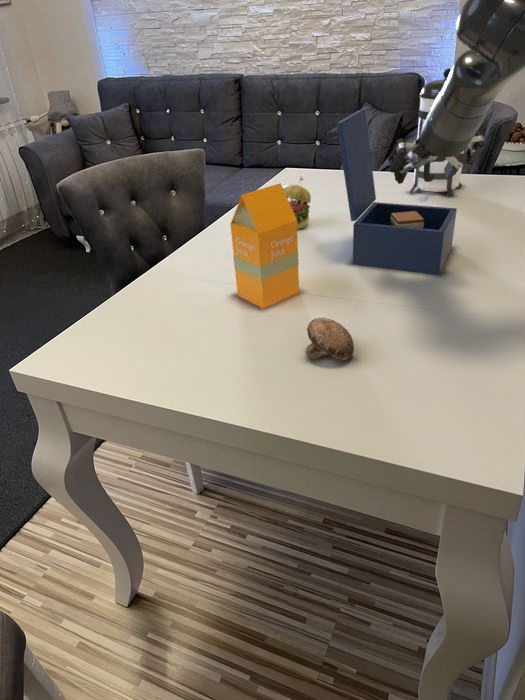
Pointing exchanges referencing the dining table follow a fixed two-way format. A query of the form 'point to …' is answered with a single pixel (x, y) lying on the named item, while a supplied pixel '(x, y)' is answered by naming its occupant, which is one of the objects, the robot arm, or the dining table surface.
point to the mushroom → (329, 340)
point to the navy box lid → (356, 162)
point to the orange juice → (265, 247)
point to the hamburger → (298, 202)
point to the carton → (407, 219)
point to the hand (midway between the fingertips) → (422, 176)
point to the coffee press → (433, 173)
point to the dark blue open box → (404, 238)
